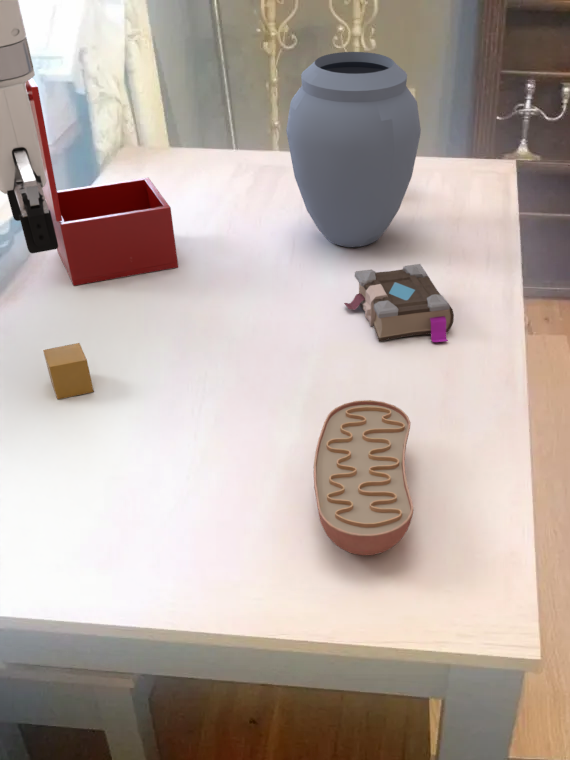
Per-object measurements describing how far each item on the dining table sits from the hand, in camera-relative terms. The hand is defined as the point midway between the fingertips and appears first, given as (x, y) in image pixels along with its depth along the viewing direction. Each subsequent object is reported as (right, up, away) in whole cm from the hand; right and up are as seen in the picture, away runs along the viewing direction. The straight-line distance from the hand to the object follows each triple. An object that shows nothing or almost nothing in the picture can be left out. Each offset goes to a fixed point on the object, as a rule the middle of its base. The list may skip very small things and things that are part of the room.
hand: (35, 233), depth 101 cm
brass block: (+1, -15, +9) cm, 18 cm away
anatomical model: (+37, -31, -7) cm, 48 cm away
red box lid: (-6, +21, +20) cm, 30 cm away
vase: (+36, +16, +40) cm, 56 cm away
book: (+42, -2, +23) cm, 47 cm away
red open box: (+1, +10, +35) cm, 36 cm away
